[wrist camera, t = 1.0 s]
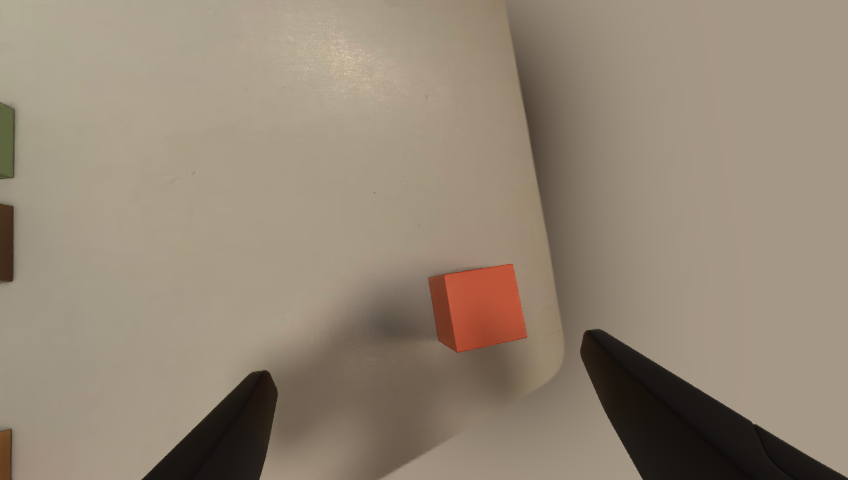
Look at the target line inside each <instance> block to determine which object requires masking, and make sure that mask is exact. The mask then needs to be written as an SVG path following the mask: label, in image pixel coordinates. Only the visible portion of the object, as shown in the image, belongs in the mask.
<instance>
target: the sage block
mask: <svg viewBox="0 0 848 480" xmlns="http://www.w3.org/2000/svg"><path fill="white" fill-rule="evenodd" d="M13 141H14V109H13V108H11V107H9V106H7V105H5V104H3V103H1V102H0V178H12V177H13Z"/></svg>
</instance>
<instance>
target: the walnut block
mask: <svg viewBox="0 0 848 480" xmlns="http://www.w3.org/2000/svg"><path fill="white" fill-rule="evenodd" d="M12 237H13V207H12V206H8V205H4V204H0V283H2V282H10V281H12Z"/></svg>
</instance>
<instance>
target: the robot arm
mask: <svg viewBox="0 0 848 480" xmlns="http://www.w3.org/2000/svg"><path fill="white" fill-rule="evenodd" d="M580 354H581V358H582V361H583V363H584V365H585V367H586V370H587V372H588V374H589V377H590V379H591V381H592V384H593V386H594V388H595V390H596V393H597V395H598V397H599V400H600V402H601V404H602V406H603V408H604V410H605V412H606V414H607V416H608V418H609V420H610V422H611V423H612V425H613V427H614V429H615V431H616V433H617V434H618V436H619V438H620V440H621V441H622V443H623V445H624V447H625V449H626V450H627V452H628V454H629V455H630V458H631V459H632V461H633V463H634V465H635V467H636V468H637V470H638V472H639V474H640V475H641V477H642V479H643V480H848V478H847V477H845V476H843V475H842V474H840V473H838V472H836V471H834V470H832V469H831V468H829V467H827V466H826V465H824V464H822V463H820V462H818V461H817V460H815V459H813V458H811V457H810V456H808V455H806V454H805V453H803V452H801V451H800V450H798V449H796V448H794V447H793V446H791V445H789V444H788V443H786V442H784V441H783V440H781V439H779V438H778V437H776V436H774V435H773V434H771V433H769V432H768V431H766V430H765V429H763V428H761V427H760V426H758V425H756V424H753V423H752V422H751V421H750V420H748V419H746V418H745V417H743V416H742V415H740V414H738V413H737V412H735V411H733V410H732V409H730V408H729V407H727V406H725V405H724V404H722V403H720V402H719V401H717V400H715V399H714V398H712V397H711V396H709V395H707V394H706V393H704V392H702V391H701V390H699V389H698V388H696V387H694V386H693V385H691V384H689V383H688V382H686V381H684V380H683V379H681V378H680V377H678V376H676V375H675V374H673V373H671V372H670V371H668V370H666V369H665V368H663V367H662V366H660V365H658V364H657V363H655V362H653V361H652V360H650V359H649V358H647V357H645V356H644V355H642V354H640V353H639V352H637V351H636V350H634V349H632V348H631V347H629V346H627V345H625V344H624V343H622V342H621V341H619V340H618V339H616V338H614V337H613V336H611V335H609V334H608V333H606V332H605V331H603V330H600V329H594V330H587V331H585V332H584V335H583V340H582V345H581V349H580ZM277 396H278V392H277V388H276V386H275V384H274V381H273V379H272V377H271V375H270V373H269V372H268V371H267V370H263V371H255V372H252V373H250V374H249V375H248V376H247V377H246V378H245V379H244V380H243V381H242V382H241V383H240V384H239V385H238V386H237V387H236V388H235V389H234V390H233V391H232V392H231V393H229V394H228V395H227V396H226V397H225V398H224V399H223V400H222V401H221V402H220V403H219V404H218V405H217V406H216V407H215V408H214V409H213V410H212V411H211V412H210V413H209V414H208V415H207V416H206V417H205V418H204V419H203V420H202V421H201V422H200V423H199V424H198V425H197V426H196V427H195V428H194V429H193V430H192V431H191V432H190V433H189V434H188V435H187V436H186V437H185V438H184V439H183V440H182V441H181V442H180V443H178V444H177V445H176V446H175V447H174V448H173V449H172V450H171V451H170V452H169V453H168V454H167V455H166V456H165V457H164V458H163V459H162V460H161V461H160V462H159V463H158V464H157V465H156V466H155V467H154V468H153V469H152V470H151V471H150V472H149V473H148V474H147V475H146V476H145V477H144V478H143V479H142V480H259V479H260V475H261V472H262V468H263V465H264V461H265V458H266V453H267V449H268V444H269V439H270V434H271V428H272V423H273V418H274V413H275V407H276V402H277Z"/></svg>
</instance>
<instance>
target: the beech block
mask: <svg viewBox="0 0 848 480" xmlns="http://www.w3.org/2000/svg"><path fill="white" fill-rule="evenodd" d="M10 445H11V430H5V431H0V480H10Z"/></svg>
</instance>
